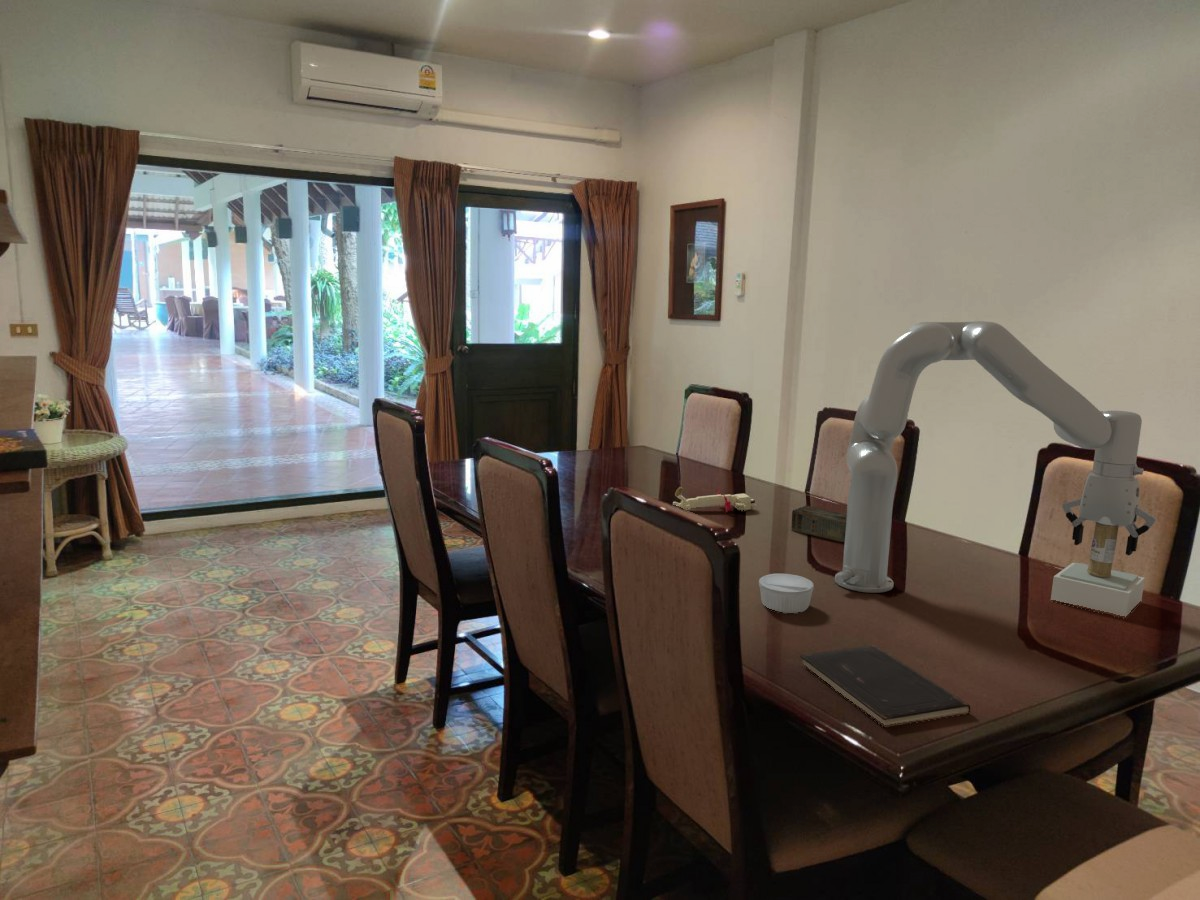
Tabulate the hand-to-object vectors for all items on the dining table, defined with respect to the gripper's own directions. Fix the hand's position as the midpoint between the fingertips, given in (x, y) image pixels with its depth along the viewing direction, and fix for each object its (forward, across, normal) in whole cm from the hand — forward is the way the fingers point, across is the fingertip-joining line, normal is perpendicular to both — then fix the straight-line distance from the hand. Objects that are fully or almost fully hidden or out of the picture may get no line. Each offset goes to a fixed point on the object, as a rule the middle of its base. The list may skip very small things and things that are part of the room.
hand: (1103, 548), depth 176 cm
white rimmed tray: (+12, 0, 0) cm, 12 cm away
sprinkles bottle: (+6, 0, 0) cm, 6 cm away
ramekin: (+12, +45, +52) cm, 70 cm away
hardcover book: (+13, +14, +73) cm, 76 cm away
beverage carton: (+12, +66, -4) cm, 67 cm away
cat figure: (+12, +102, -2) cm, 103 cm away
